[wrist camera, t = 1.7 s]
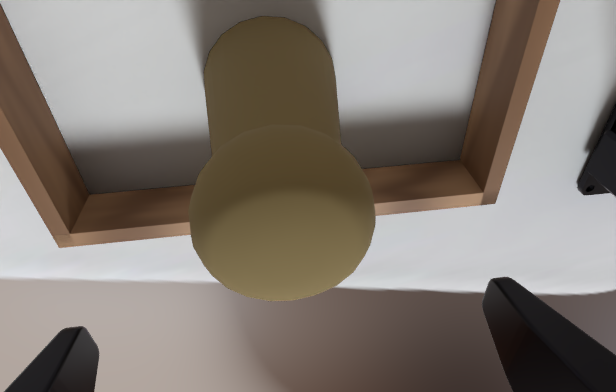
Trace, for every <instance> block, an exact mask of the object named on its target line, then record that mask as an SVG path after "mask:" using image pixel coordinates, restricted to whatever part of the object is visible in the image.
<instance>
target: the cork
mask: <svg viewBox="0 0 616 392" xmlns="http://www.w3.org/2000/svg"><path fill="white" fill-rule="evenodd" d="M204 84H205V96H206V106H207V115H208V124H209V134H210V143H211V152H212V157H211V158H210V160H209V161H208V162H207V163H206V165H205V166H204V167H203V169H202V170H201V172H200V173H199V175H198V178H197V181H196V184H195V187H194V190H193V193H192V196H191V200H190V205H189V210H188V214H189V223H190V232H191V238H192V243H193V247H194V249H195V251H196V252H197V254H198V256H199V258H200V259H201V261H202V263H203V264H204V266H205V267H206V269H207V270H208V271H209V272H210V274H211V275H212V276H213V277H214V278H216V279H217V280H218V281H219V282H221V283H222V284H223V285H224V286H225V287H227V288H228V289H230V290H233V291H235V292H237V293H240V294H242V295H244V296H247V297H251V298H256V299H262V300H268V301H286V300H297V299H301V298H305V297H309V296H314V295H317V294H319V293H322V292H324V291H326V290H328V289H330V288H332V287H335V286H337V285H338V284H339V283H340V282H342V281H343V280H344V279H345V278H347V277H348V276H349V275H350V274H352V273H353V272H354V270H355V269H356V268H357V266H358V265H359V263H360V262H361V260H362V259H363V258H364V256H365V254H366V252H367V250H368V248H369V246H370V243H371V240H372V236H373V232H374V228H375V206H374V199H373V193H372V188H371V186H370V183H369V181H368V179H367V176H366V175H365V173H364V172H363V170H362V168H361V167H360V165H359V164H358V162H357V161H356V159H355V157H354V156H353V155H352V154H351V153H350V152H349V151H348V150H347V149H346V148H344V147H343V146H342V145H341V135H340V124H339V112H338V100H337V89H336V78H335V72H334V67H333V62H332V58H331V56H330V54H329V53H328V51H327V49H326V47H325V46H324V44H323V42H322V40H320V39H319V38H318V37H317V36H316V35H315V34H314V33H313V32H311V31H310V30H309V29H308V28H307V27H306V26H304V25H301V24H299V23H296V22H294V21H292V20H289V19H287V18H283V17H269V16H260V17H257V18H253V19H249V20H246V21H242V22H239V23H238V24H237V25H235V26H234V27H232V28H231V29H229V30H228V31H226V32H225V33H223V34H222V35H221V37H220V38H219V39H218V41H217V42H216V44H215V45H214V46H213V48H212V49H211V50H210V52H209V55H208V59H207V62H206V66H205V69H204Z"/></svg>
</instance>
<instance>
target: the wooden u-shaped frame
mask: <svg viewBox="0 0 616 392" xmlns="http://www.w3.org/2000/svg"><path fill="white" fill-rule="evenodd" d="M559 2H560V0H496V4H495V8H494V13H493V17H492V22H491V26H490V30H489V35H488V39H487V43H486V48H485V52H484V56H483V61H482V65H481V69H480V74H479V78H478V82H477V87H476V91H475V96H474V100H473V104H472V109H471V113H470V117H469V122H468V126H467V130H466V135H465V139H464V143H463V148H462V152H461V156H460V160H453V161H443V162H432V163H421V164H411V165H400V166H390V167H379V168H368V169H362V170H363V172H364V173H365V175H366V176H367V179H368V181H369V183H370V186H371V188H372V193H373V199H374V206H375V216H379V215H389V214H398V213H408V212H418V211H428V210H438V209H448V208H457V207H467V206H477V205H487V204H495V203H496V200H497V197H498V193H499V190H500V187H501V184H502V181H503V178H504V175H505V171H506V168H507V165H508V162H509V159H510V156H511V153H512V150H513V146H514V143H515V140H516V137H517V134H518V131H519V128H520V124H521V121H522V118H523V115H524V112H525V109H526V106H527V103H528V99H529V96H530V93H531V90H532V87H533V84H534V81H535V78H536V74H537V71H538V68H539V65H540V62H541V59H542V56H543V52H544V49H545V46H546V43H547V40H548V37H549V34H550V31H551V27H552V24H553V21H554V18H555V15H556V12H557V9H558V5H559ZM0 148H1V150H2V151H3V153H4V155H5V156H6V158H7V160H8V162H9V163H10V165H11V167H12V168H13V170H14V172H15V173H16V175H17V177H18V179H19V180H20V182H21V184H22V185H23V187H24V189H25V190H26V192H27V194H28V196H29V197H30V199H31V201H32V202H33V204H34V206H35V207H36V209H37V211H38V213H39V214H40V216H41V218H42V219H43V221H44V223H45V225H46V226H47V228H48V230H49V231H50V233H51V235H52V236H53V238H54V240H55V242H56V243H57V245H58V247H59V248H64V247H74V246H83V245H93V244H103V243H113V242H123V241H133V240H142V239H152V238H162V237H172V236H182V235H191V232H190V223H189V214H188V210H189V205H190V200H191V196H192V193H193V190H194V187H195V185H188V186H177V187H167V188H156V189H145V190H135V191H124V192H113V193H103V194H92V195H89V193H88V190H87V188H86V186H85V184H84V182H83V180H82V178H81V176H80V173H79V171H78V169H77V167H76V165H75V163H74V161H73V158H72V156H71V154H70V152H69V150H68V148H67V146H66V144H65V141H64V139H63V137H62V135H61V133H60V131H59V129H58V126H57V124H56V122H55V120H54V118H53V116H52V114H51V112H50V109H49V107H48V105H47V103H46V101H45V99H44V97H43V94H42V92H41V90H40V88H39V86H38V84H37V82H36V80H35V77H34V75H33V73H32V71H31V69H30V67H29V65H28V62H27V60H26V58H25V56H24V54H23V52H22V50H21V48H20V45H19V43H18V41H17V39H16V37H15V35H14V33H13V30H12V28H11V26H10V24H9V22H8V20H7V18H6V16H5V13H4V11H3V9H2V7H1V5H0Z"/></svg>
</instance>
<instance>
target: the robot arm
mask: <svg viewBox="0 0 616 392" xmlns="http://www.w3.org/2000/svg"><path fill="white" fill-rule="evenodd" d="M577 188H578V190H579V191H580V192H581V193H582V194H583V195H594V194H604V193H612V194H613V195H614V196H615V197H616V105H615V107H614V109H613V111H612V113H611V115H610V118H609V120H608V122H607V124H606V126H605V128H604V130H603V133H602V135H601V137H600V139H599V141H598V143H597V146H596V148H595V150H594V152H593V154H592V156H591V158H590V161H589V163H588V165H587V167H586V169H585V171H584V173H583V176H582V178H581V180H580V182H579V184H578V187H577ZM482 308H483V312H484V315H485V318H486V321H487V323H488V326H489V329H490V332H491V335H492V338H493V341H494V344H495V347H496V350H497V353H498V355H499V358H500V361H501V364H502V367H503V370H504V372H505V375H506V376H507V379H508V382H509V384H510V386H511V388H512V390H513V392H616V355H615V354H613V353H612V352H611V351H609V350H608V349H607V348H605V347H604V346H602V345H601V344H600V343H598V342H597V341H596V340H594V339H593V338H592V337H590V336H588V334H586V333H585V332H583V331H582V330H581V329H579V328H578V327H577V326H575V325H574V324H573V323H571V322H570V321H569V320H567V319H566V318H565V317H563V316H562V315H561V314H559V313H558V312H557V311H555V310H554V309H552V308H551V307H550V306H548V305H547V304H546V303H544V302H543V301H542V300H540V299H539V298H538V297H536V296H535V295H534V294H532V293H531V292H529V291H528V290H527V289H525V288H524V287H523V286H521V285H520V284H519V283H517V282H516V281H515V280H513V279H511V278H509V277H500V278H493V279H491V280H490V281H489V283H488V286H487V289H486V291H485V294H484V297H483V300H482ZM98 361H99V349H98V346H97V344H96V343H95V342H94V340H93V338H92V337H91V335H90V334H89V332H88V331H87V329H86V328H85V327H83V326H78V327H70V328H65V329H63V330H61V331H60V332H59V333H58V334H57V335H56V336H55V337H54V338H53V339H52V340H51V342H50V343H49V344H48V345H47V346H46V347H45V348H44V349H43V350H42V351H41V352H40V353H39V354H38V355H37V357H36V358H35V359H34V360H33V361H32V362H31V363H30V364H29V365H28V366H27V367H26V369H25V370H24V371H23V372H22V373H21V374H20V375H19V376H18V377H17V378H16V379H15V380H14V381H13V382H12V384H11V385H10V386H9V387H8V388H7V389H6V390H5V391H4V392H94V389H95V381H96V375H97V368H98Z"/></svg>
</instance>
